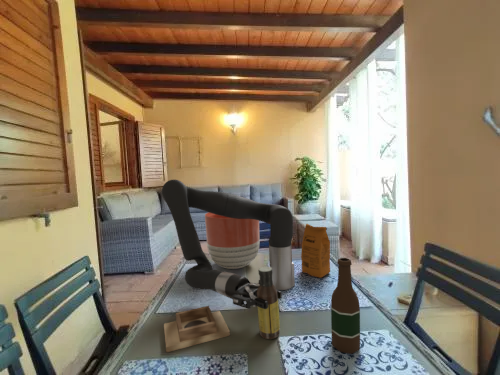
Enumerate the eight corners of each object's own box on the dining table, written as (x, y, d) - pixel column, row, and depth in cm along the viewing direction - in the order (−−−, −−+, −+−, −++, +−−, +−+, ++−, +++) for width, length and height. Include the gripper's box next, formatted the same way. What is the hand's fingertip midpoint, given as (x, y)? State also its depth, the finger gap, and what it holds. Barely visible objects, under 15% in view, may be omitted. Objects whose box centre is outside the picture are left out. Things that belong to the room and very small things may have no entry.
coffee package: (311, 266, 131) (310, 221, 129) (333, 273, 121) (332, 225, 119) (297, 271, 125) (296, 225, 123) (319, 279, 115) (318, 229, 113)
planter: (270, 261, 139) (268, 210, 137) (241, 281, 117) (238, 220, 115) (229, 254, 154) (226, 207, 152) (196, 270, 131) (193, 215, 129)
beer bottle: (326, 337, 77) (324, 255, 75) (352, 334, 78) (351, 253, 76) (337, 356, 69) (336, 265, 67) (366, 353, 70) (365, 263, 68)
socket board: (219, 315, 91) (219, 302, 90) (229, 335, 80) (229, 320, 79) (164, 328, 85) (163, 314, 84) (166, 352, 73) (165, 336, 73)
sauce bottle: (278, 326, 83) (276, 264, 81) (281, 339, 77) (279, 272, 75) (257, 328, 83) (255, 265, 81) (259, 341, 76) (256, 273, 75)
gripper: (215, 282, 82) (258, 297, 71) (245, 267, 93) (287, 278, 83) (216, 306, 83) (259, 324, 72) (246, 288, 94) (288, 302, 83)
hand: (274, 300), depth 77 cm, fingers open, 6 cm apart
